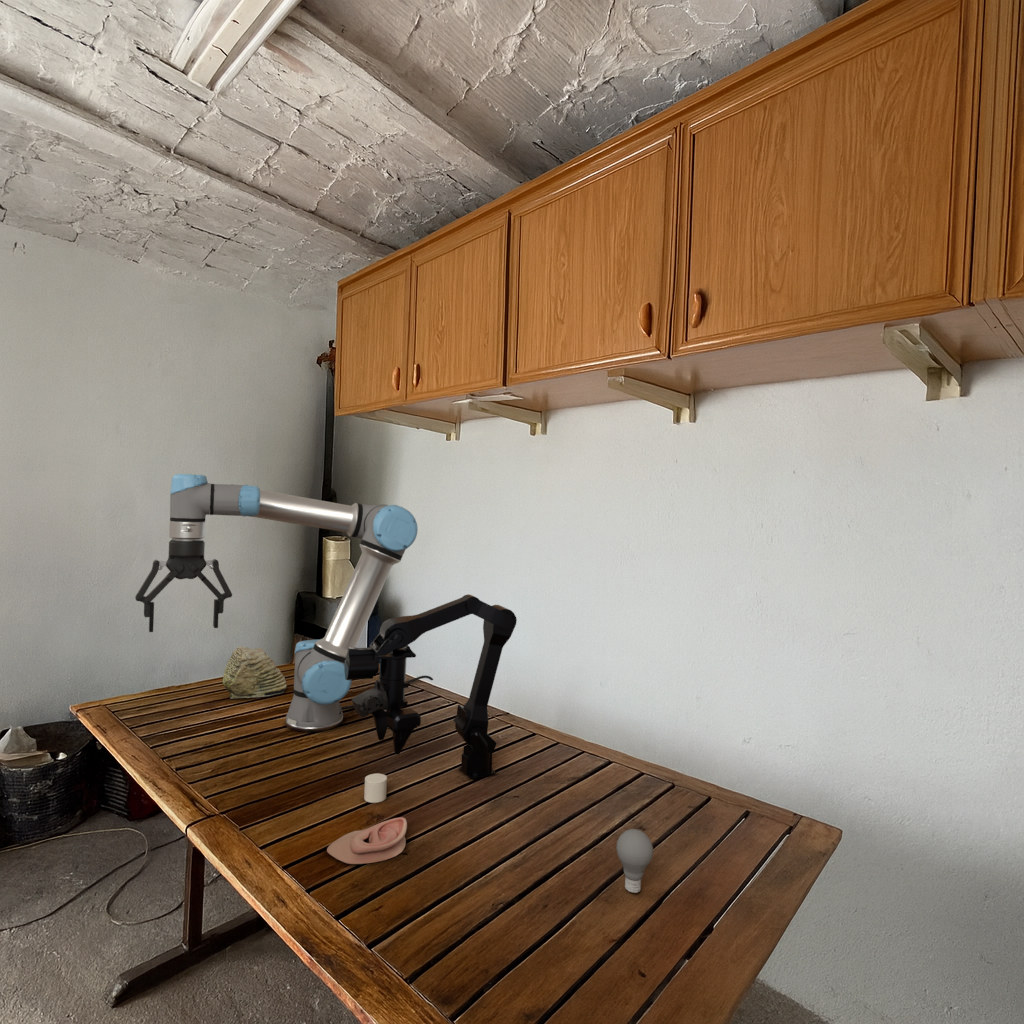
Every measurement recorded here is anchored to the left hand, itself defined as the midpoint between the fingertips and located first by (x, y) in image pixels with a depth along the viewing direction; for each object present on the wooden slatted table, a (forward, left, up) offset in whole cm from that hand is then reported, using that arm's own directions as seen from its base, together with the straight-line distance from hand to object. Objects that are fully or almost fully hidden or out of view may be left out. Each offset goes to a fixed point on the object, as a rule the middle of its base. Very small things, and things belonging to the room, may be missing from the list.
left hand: (184, 629), depth 150 cm
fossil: (-36, -31, -30) cm, 57 cm away
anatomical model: (-5, +63, -30) cm, 71 cm away
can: (-19, +49, -30) cm, 61 cm away
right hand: (-24, +46, -22) cm, 57 cm away
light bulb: (-27, +106, -30) cm, 113 cm away
